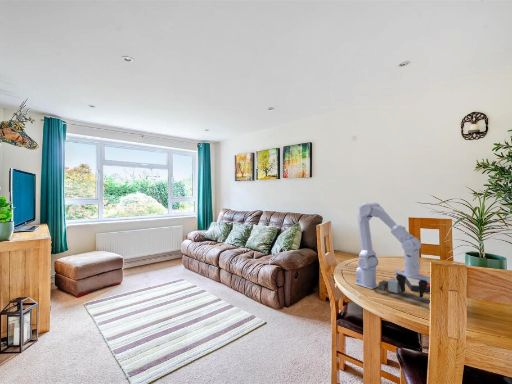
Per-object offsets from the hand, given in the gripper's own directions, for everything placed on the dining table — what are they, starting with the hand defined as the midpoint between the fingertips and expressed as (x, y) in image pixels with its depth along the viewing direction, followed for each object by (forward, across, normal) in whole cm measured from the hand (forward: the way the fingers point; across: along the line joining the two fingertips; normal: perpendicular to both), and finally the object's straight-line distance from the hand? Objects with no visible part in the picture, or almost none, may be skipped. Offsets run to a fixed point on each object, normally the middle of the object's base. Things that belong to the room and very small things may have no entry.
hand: (412, 294), depth 112 cm
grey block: (+1, -7, 0) cm, 7 cm away
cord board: (+3, -2, 0) cm, 3 cm away
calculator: (+3, -4, +20) cm, 21 cm away
